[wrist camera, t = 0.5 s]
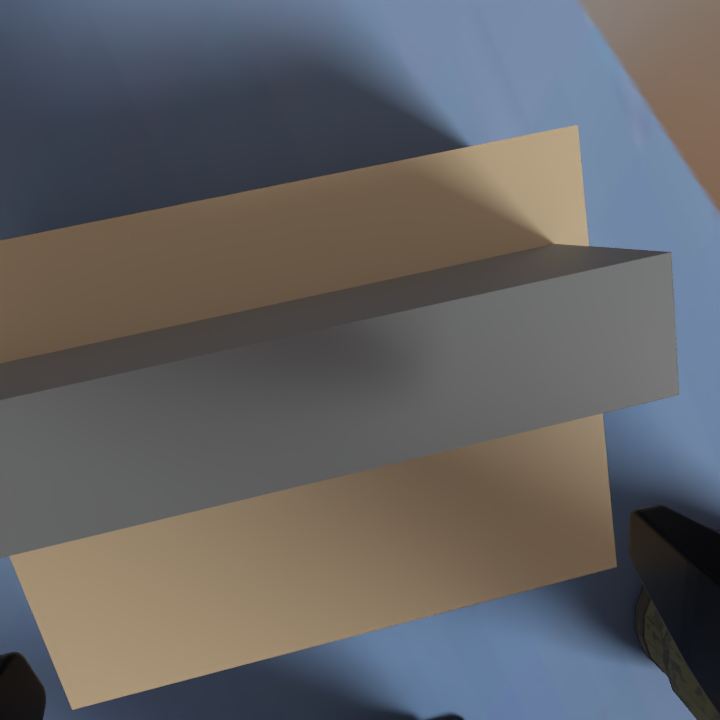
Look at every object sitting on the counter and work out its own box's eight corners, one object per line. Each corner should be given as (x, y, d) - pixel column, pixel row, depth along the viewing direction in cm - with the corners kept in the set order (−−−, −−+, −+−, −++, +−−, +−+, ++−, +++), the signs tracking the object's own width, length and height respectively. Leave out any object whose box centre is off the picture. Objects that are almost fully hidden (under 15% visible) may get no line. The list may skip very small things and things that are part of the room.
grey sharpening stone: (589, 356, 17) (724, 414, 12) (-4, 493, 16) (-151, 629, 11) (567, 128, 16) (713, 78, 10) (-98, 261, 14) (-327, 284, 9)
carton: (524, 471, 26) (616, 567, 19) (135, 566, 25) (72, 709, 18) (482, 157, 23) (575, 125, 15) (26, 249, 21) (-111, 262, 14)
